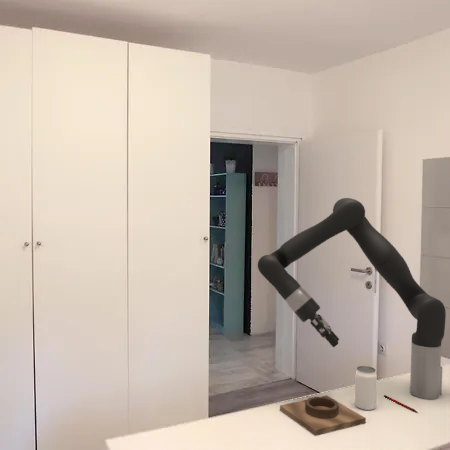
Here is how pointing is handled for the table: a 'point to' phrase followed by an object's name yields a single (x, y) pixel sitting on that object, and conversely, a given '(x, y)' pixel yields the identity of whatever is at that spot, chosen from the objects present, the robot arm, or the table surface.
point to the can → (365, 388)
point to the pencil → (401, 404)
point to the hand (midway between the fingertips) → (336, 343)
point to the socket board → (322, 423)
